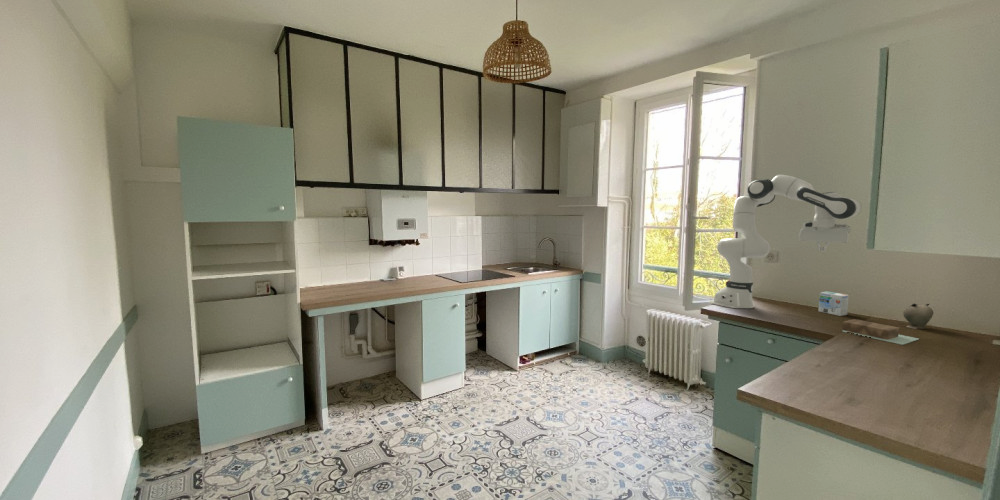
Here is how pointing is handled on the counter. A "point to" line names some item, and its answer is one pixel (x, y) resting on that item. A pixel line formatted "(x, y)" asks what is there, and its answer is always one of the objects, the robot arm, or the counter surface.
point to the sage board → (898, 340)
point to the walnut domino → (871, 329)
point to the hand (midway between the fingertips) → (822, 250)
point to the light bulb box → (833, 303)
